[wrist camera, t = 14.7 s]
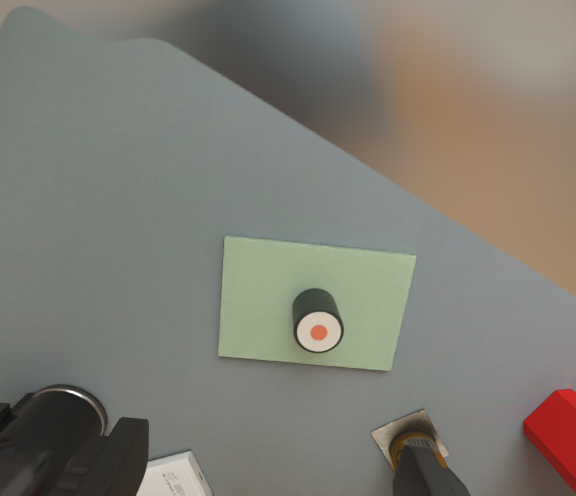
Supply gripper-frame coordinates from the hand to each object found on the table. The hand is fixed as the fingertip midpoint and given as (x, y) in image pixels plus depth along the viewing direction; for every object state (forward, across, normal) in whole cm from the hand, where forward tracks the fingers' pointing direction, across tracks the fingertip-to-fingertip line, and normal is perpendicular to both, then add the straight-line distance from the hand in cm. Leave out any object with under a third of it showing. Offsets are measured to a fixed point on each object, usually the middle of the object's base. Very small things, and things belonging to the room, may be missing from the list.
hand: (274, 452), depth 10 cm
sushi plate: (+25, -4, +6) cm, 26 cm away
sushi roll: (+24, -4, +6) cm, 25 cm away
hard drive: (+25, +12, +35) cm, 44 cm away
